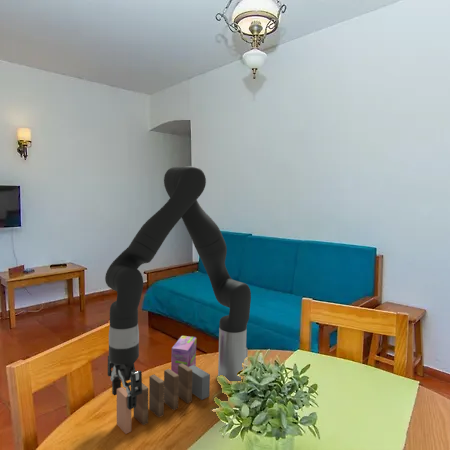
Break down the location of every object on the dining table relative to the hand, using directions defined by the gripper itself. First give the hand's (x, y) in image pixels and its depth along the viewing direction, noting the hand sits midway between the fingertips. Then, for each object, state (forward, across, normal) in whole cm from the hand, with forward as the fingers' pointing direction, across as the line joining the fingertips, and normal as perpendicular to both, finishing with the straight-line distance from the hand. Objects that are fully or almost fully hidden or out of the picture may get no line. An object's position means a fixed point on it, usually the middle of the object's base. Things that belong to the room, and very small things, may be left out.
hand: (124, 400), depth 94 cm
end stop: (+8, 0, -25) cm, 26 cm away
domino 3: (+8, 0, -15) cm, 17 cm away
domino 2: (+8, 0, -10) cm, 13 cm away
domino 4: (+8, 0, -20) cm, 21 cm away
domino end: (+8, 0, 0) cm, 8 cm away
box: (+8, +11, -28) cm, 31 cm away
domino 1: (+8, 0, -5) cm, 9 cm away
